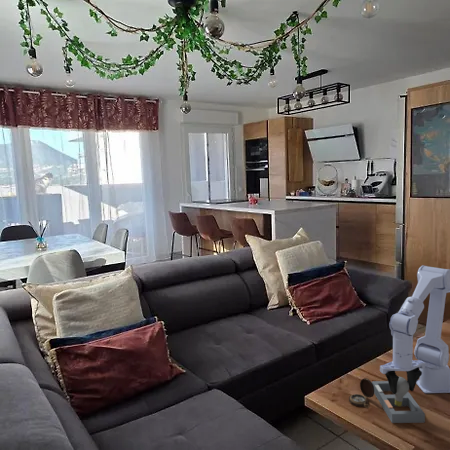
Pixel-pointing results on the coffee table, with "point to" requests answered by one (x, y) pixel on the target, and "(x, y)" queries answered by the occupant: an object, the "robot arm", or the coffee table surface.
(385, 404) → the socket block
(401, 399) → the light bulb
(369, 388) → the compass
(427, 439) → the coffee table surface
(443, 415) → the coffee table surface
